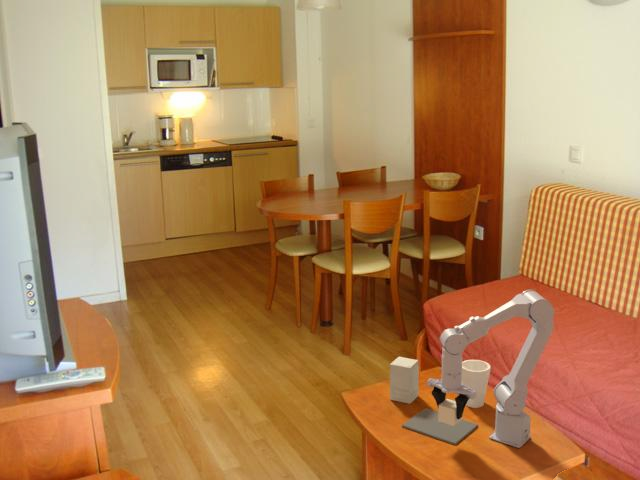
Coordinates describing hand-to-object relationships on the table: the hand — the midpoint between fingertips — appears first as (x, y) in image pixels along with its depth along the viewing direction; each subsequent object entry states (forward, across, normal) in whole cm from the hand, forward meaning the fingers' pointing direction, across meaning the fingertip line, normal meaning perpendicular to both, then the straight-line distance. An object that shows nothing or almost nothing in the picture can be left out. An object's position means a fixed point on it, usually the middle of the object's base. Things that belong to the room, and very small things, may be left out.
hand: (450, 415), depth 210 cm
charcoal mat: (+8, -7, +6) cm, 12 cm away
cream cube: (+2, 0, 0) cm, 2 cm away
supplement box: (+9, -26, +17) cm, 32 cm away
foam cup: (+9, -5, +26) cm, 28 cm away
